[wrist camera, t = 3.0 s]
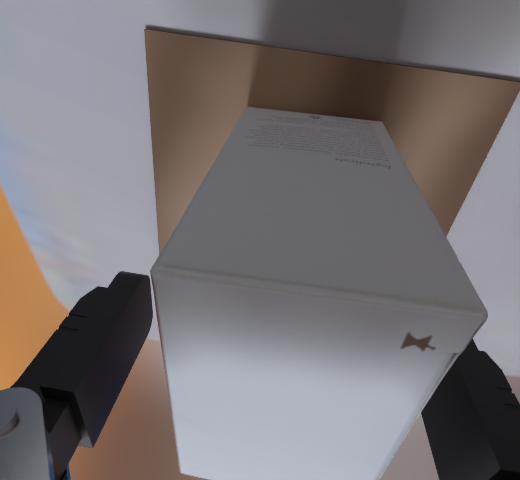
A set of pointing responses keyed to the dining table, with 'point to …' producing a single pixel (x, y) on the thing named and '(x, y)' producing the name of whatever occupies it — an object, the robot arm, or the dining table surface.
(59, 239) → the dining table surface
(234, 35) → the dining table surface
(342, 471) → the small box
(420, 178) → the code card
